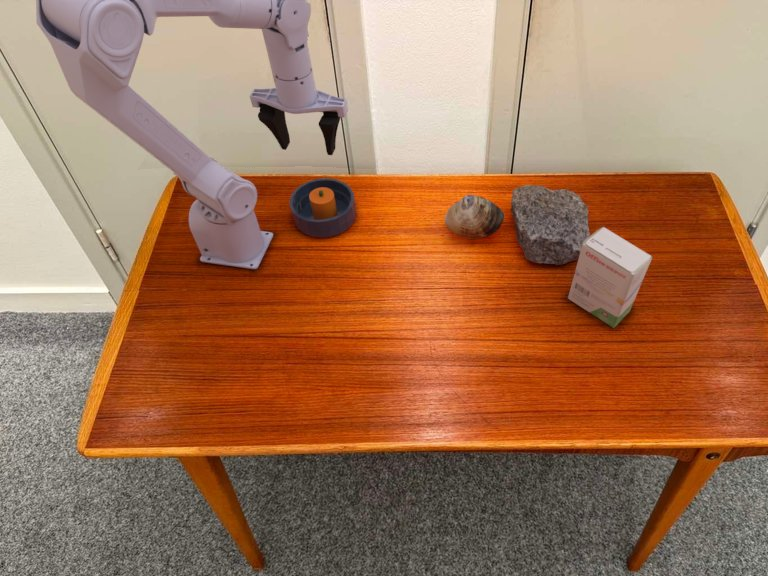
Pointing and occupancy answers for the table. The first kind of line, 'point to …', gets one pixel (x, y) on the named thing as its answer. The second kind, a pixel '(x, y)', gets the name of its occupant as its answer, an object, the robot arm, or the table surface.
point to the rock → (549, 223)
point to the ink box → (608, 276)
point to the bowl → (325, 226)
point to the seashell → (474, 217)
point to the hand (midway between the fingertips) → (308, 148)
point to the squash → (323, 203)
